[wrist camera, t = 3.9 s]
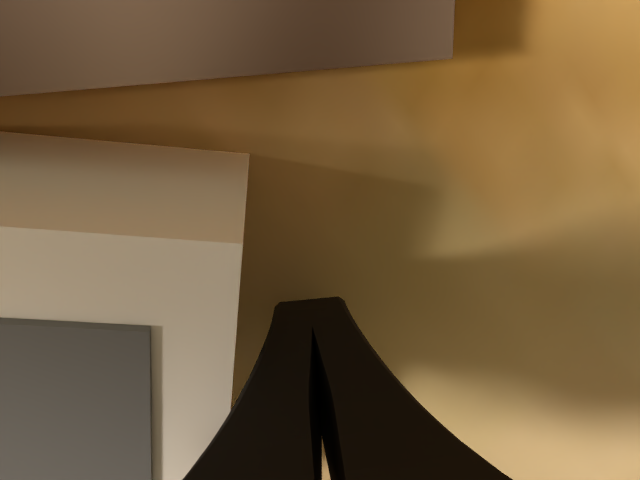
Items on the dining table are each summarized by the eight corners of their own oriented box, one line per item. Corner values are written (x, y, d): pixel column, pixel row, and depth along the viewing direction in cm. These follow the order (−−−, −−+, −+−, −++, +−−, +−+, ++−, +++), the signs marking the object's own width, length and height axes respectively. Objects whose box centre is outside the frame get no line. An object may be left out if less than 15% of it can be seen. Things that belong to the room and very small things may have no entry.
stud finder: (250, 151, 12) (242, 249, 8) (227, 450, 15) (216, 595, 12) (-63, 122, 11) (-200, 217, 8) (-4, 443, 15) (-80, 596, 12)
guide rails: (433, -94, 10) (465, -91, 8) (418, 521, 17) (433, 584, 15) (-568, -18, 9) (-741, 0, 8) (-134, 581, 16) (-176, 654, 15)
